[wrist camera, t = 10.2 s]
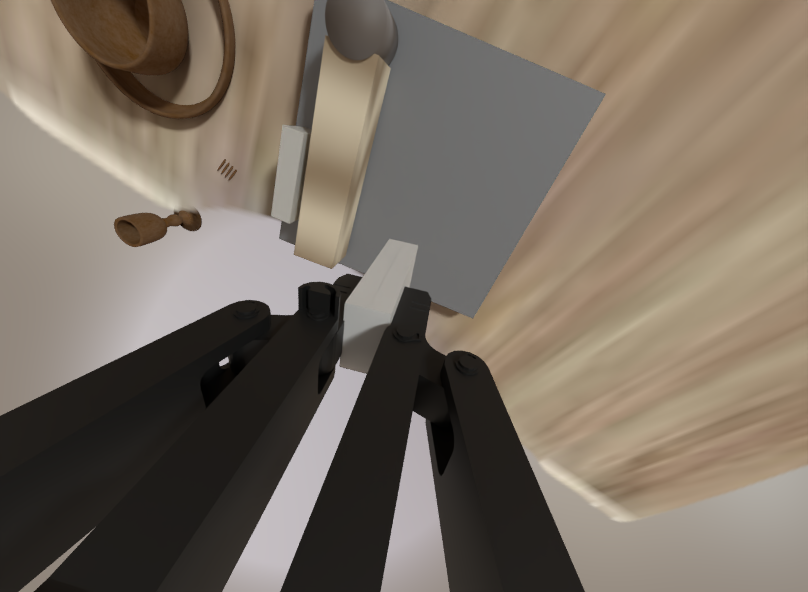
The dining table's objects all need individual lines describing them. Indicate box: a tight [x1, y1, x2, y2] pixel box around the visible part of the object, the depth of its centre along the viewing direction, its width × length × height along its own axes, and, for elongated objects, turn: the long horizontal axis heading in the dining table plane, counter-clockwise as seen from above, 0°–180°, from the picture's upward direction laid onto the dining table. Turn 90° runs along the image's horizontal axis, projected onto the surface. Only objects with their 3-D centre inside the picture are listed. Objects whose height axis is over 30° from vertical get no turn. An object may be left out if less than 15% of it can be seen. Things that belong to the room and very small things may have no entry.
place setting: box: [51, 0, 237, 247], centre depth 21 cm, size 18×20×6 cm
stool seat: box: [271, 0, 606, 318], centre depth 20 cm, size 18×17×5 cm
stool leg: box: [294, 0, 398, 269], centre depth 19 cm, size 16×3×3 cm, turn 162°
